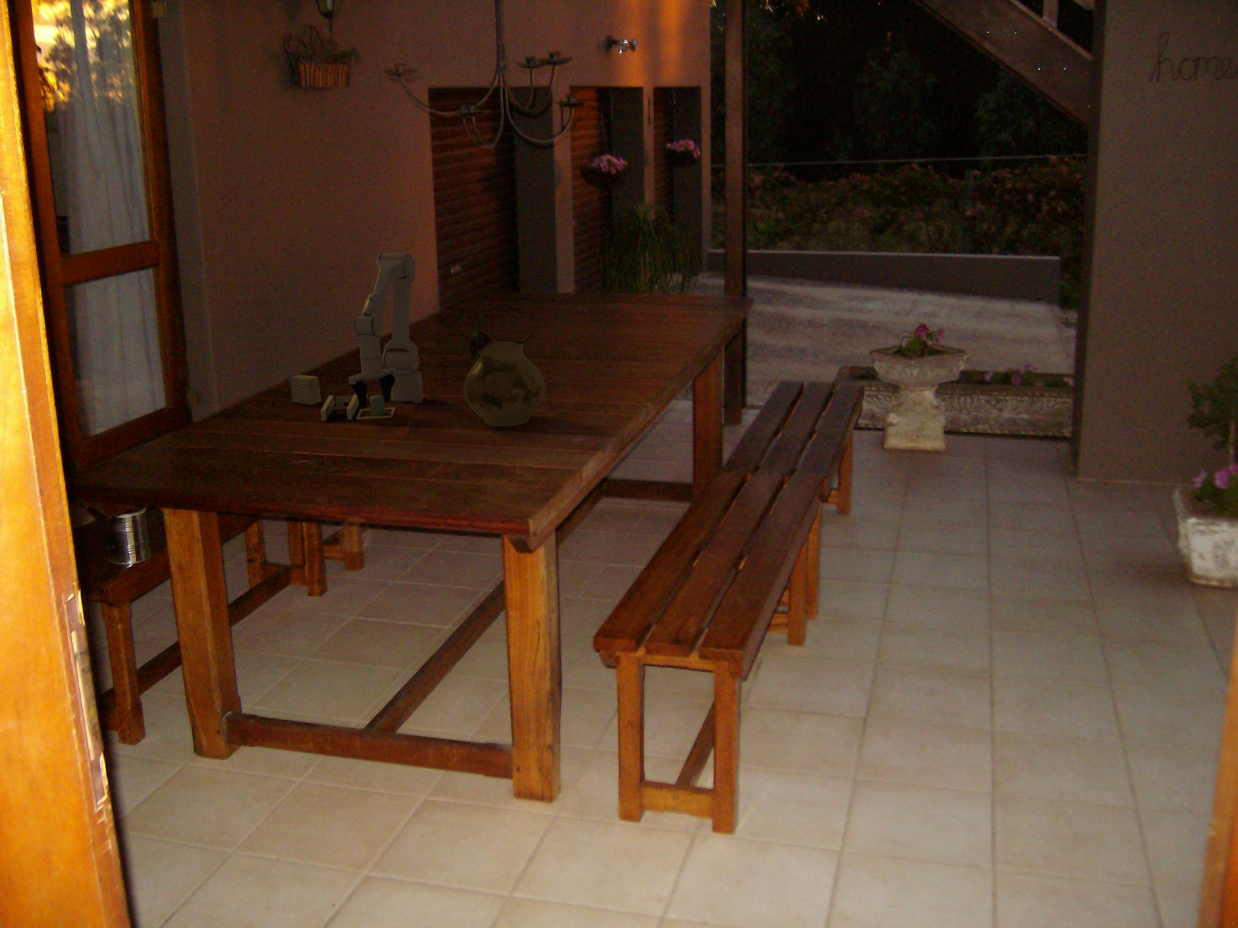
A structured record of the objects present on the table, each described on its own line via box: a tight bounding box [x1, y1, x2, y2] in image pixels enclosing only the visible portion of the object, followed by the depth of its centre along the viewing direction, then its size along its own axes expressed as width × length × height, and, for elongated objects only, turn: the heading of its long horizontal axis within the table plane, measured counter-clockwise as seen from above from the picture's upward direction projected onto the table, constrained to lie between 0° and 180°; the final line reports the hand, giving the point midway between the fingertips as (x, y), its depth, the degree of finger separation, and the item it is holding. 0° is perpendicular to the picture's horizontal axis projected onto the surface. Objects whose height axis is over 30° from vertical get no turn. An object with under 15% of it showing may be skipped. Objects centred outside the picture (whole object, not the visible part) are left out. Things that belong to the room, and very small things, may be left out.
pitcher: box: [463, 329, 546, 428], centre depth 340 cm, size 22×24×25 cm
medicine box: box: [289, 374, 322, 406], centre depth 368 cm, size 8×4×9 cm, turn 58°
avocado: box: [369, 394, 386, 417], centre depth 351 cm, size 4×4×6 cm
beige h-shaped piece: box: [320, 393, 360, 422], centre depth 355 cm, size 8×18×4 cm, turn 5°
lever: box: [327, 394, 369, 410], centre depth 358 cm, size 9×19×4 cm, turn 5°
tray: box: [355, 406, 396, 420], centre depth 353 cm, size 10×10×1 cm
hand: (375, 404), depth 352 cm, fingers open, 7 cm apart
